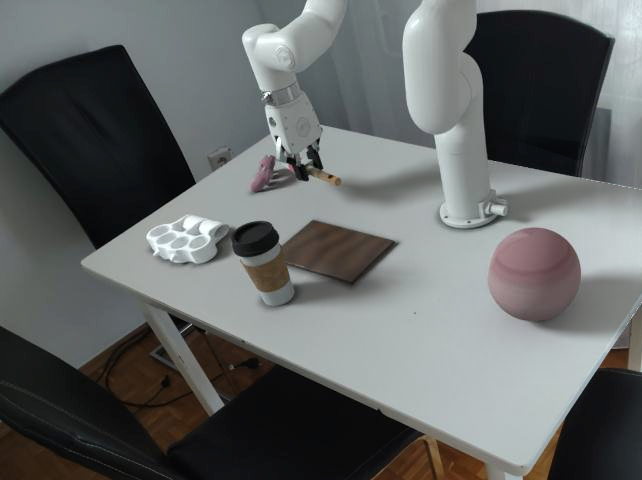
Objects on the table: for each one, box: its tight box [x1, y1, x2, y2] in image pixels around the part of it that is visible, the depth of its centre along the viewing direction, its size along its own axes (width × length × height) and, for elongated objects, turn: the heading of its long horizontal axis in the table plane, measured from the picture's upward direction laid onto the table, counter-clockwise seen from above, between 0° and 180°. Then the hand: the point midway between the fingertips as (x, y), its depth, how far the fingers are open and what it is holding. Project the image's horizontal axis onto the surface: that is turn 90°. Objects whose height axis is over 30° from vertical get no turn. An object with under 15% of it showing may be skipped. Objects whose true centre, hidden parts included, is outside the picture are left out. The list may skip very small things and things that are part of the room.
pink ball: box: [486, 226, 582, 322], centre depth 103 cm, size 15×15×15 cm
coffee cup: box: [230, 220, 295, 307], centre depth 116 cm, size 8×8×15 cm
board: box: [281, 219, 395, 286], centre depth 129 cm, size 22×14×1 cm, turn 57°
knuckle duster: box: [146, 214, 230, 265], centre depth 138 cm, size 3×18×15 cm
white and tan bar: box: [276, 155, 342, 187], centre depth 139 cm, size 4×3×20 cm
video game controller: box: [249, 154, 277, 193], centre depth 153 cm, size 10×5×7 cm, turn 179°
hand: (310, 173), depth 140 cm, fingers closed on white and tan bar, 4 cm apart
